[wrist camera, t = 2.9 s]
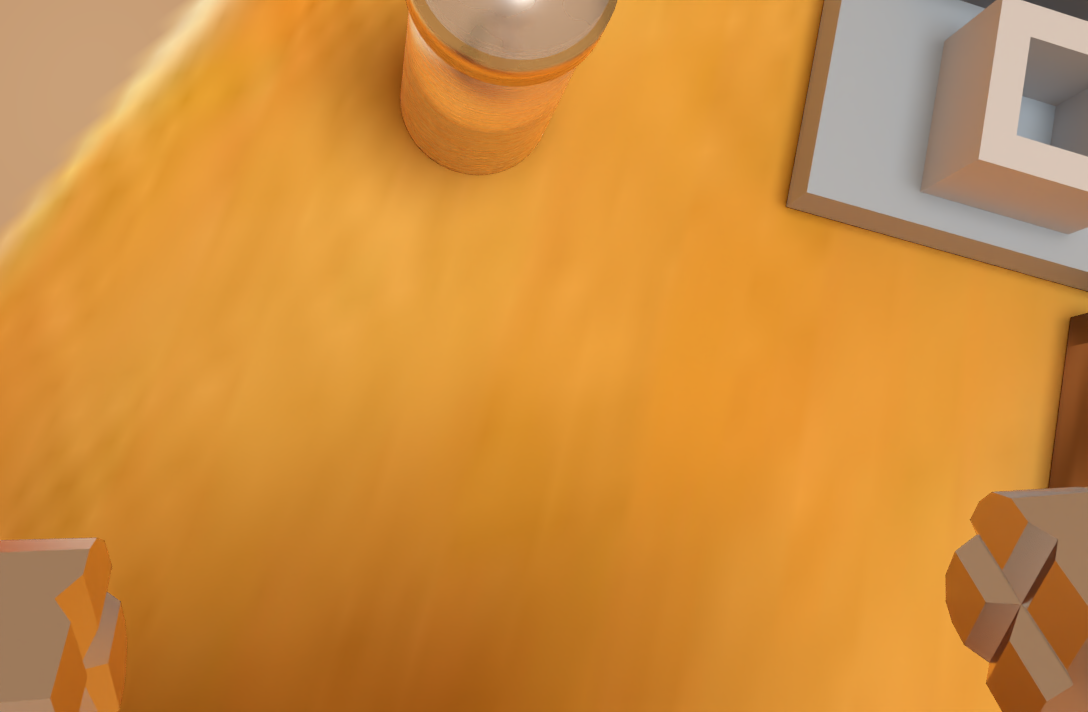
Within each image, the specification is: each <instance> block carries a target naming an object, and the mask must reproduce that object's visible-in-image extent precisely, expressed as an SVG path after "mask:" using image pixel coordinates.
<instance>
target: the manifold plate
mask: <svg viewBox="0 0 1088 712" xmlns="http://www.w3.org/2000/svg"><path fill="white" fill-rule="evenodd" d="M786 207H789V208H793V209H796V210H800V211H803V212H807V213H811V214H814V215H818V216H821V217H825V218H828V219H832V220H836V221H839V222H843V223H846V224H850V225H853V226H857V227H860V228H864V229H868V230H871V231H875V232H878V233H882V234H885V235H889V236H892V237H896V238H900V239H903V240H907V241H910V242H914V243H917V244H921V245H925V246H928V247H932V248H935V249H939V250H942V251H946V252H949V253H953V254H957V255H960V256H964V257H967V258H971V259H974V260H978V261H981V262H985V263H989V264H992V265H996V266H999V267H1003V268H1006V269H1010V270H1014V271H1017V272H1021V273H1024V274H1028V275H1031V276H1035V277H1038V278H1042V279H1046V280H1049V281H1053V282H1056V283H1060V284H1063V285H1067V286H1070V287H1074V288H1078V289H1081V290H1085V291H1088V0H824V6H823V11H822V16H821V22H820V27H819V33H818V38H817V43H816V49H815V54H814V59H813V65H812V70H811V76H810V81H809V86H808V92H807V97H806V103H805V108H804V113H803V119H802V124H801V130H800V135H799V140H798V146H797V151H796V156H795V162H794V167H793V173H792V178H791V183H790V189H789V194H788V200H787V205H786Z"/></svg>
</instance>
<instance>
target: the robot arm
mask: <svg viewBox="0 0 1088 712" xmlns="http://www.w3.org/2000/svg"><path fill="white" fill-rule="evenodd" d="M970 521H971V523H972V525H973V527H974V529H975V532H976V534H977V535H976V536H974V537H973V538H972V539H971V540H969V541H968V542H967V543H965V544H964V545H963V546H962V547H960V548H959V549H958V550H956V551H955V553H954V556H953V558H952V560H951V563H950V565H949V568H948V570H947V573H946V575H945V578H946V604H947V607H948V610H949V614H950V617H951V621H952V623H953V625H954V627H955V629H956V631H957V633H958V634H959V636H960V638H961V640H962V642H963V644H964V645H965V646H967V647H968V648H970V649H971V650H972V651H974V652H975V653H977V654H978V655H979V656H981V657H982V658H984V659H985V660H986V661H988V662H989V668H988V674H987V680H986V684H987V686H988V688H989V689H990V691H991V693H992V695H993V696H994V698H995V700H996V702H997V703H998V705H999V707H1000V709H1001V710H1002V712H1088V487H1084V488H1082V487H1065V488H1049V489H1032V490H1016V491H1000V492H991V493H990V494H989V495H987V496H986V497H985V498H983V499H982V500H981V501H979V503H978V505H977V507H976V509H975V511H974V513H973V515H972V517H971V519H970ZM111 570H112V564H111V561H110V558H109V554H108V551H107V547H106V544H105V540H102V539H99V538H70V539H32V540H0V712H118V711H119V710H120V706H121V701H122V695H123V689H124V684H125V676H126V658H127V637H126V625H125V618H124V614H123V609H122V605H121V601H119V600H118V599H116V598H115V597H114V596H112V595H111V594H109V593H108V592H107V588H108V584H109V579H110V574H111Z"/></svg>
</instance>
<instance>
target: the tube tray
mask: <svg viewBox="0 0 1088 712" xmlns="http://www.w3.org/2000/svg"><path fill="white" fill-rule="evenodd" d="M1065 487H1082V488H1084V487H1088V313H1086V314H1082V315H1078V316H1074V317H1071V322H1070V329H1069V337H1068V345H1067V353H1066V360H1065V368H1064V376H1063V383H1062V391H1061V399H1060V406H1059V414H1058V422H1057V429H1056V437H1055V445H1054V452H1053V460H1052V468H1051V475H1050V483H1049V488H1065Z"/></svg>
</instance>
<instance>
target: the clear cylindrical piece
mask: <svg viewBox="0 0 1088 712" xmlns="http://www.w3.org/2000/svg"><path fill="white" fill-rule="evenodd" d="M406 3H407V8H408V10H409V14H408V24H407V34H406V44H405V54H404V64H403V74H402V83H401V95H400V104H401V112H402V116H403V120H404V123H405V126H406V128H407V130H408V132H409V134H410V136H411V138H412V139H413V140H414V142H415V143H416V145H417V146H418V147H419V148H420V149H421V150H422V151H423V152H424V153H425V154H426V155H427V156H428V157H430V158H431V159H432V160H434V161H435V162H437V163H438V164H440V165H442V166H444V167H446V168H448V169H451V170H454V171H457V172H460V173H465V174H474V175H483V174H492V173H497V172H500V171H503V170H506V169H508V168H511V167H513V166H515V165H516V164H518V163H519V162H521V161H522V160H523V159H525V158H526V157H527V156H528V155H529V154H530V153H531V152H532V151H533V150H534V148H535V147H536V146H537V144H538V142H539V141H540V139H541V137H542V135H543V133H544V131H545V129H546V127H547V125H548V123H549V121H550V119H551V117H552V115H553V113H554V111H555V109H556V107H557V105H558V103H559V101H560V99H561V97H562V95H563V93H564V91H565V89H566V87H567V85H568V82H569V80H570V78H571V76H572V74H573V72H574V70H575V68H576V66H578V65H579V64H580V63H581V62H582V61H583V60H584V59H585V58H586V57H587V56H588V55H589V54H590V53H591V51H592V50H593V49H594V47H595V46H596V44H597V43H598V41H599V39H600V37H601V35H602V33H603V32H604V30H605V28H606V26H607V24H608V22H609V20H610V18H611V16H612V13H613V11H614V9H615V6H616V3H617V0H406Z"/></svg>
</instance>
